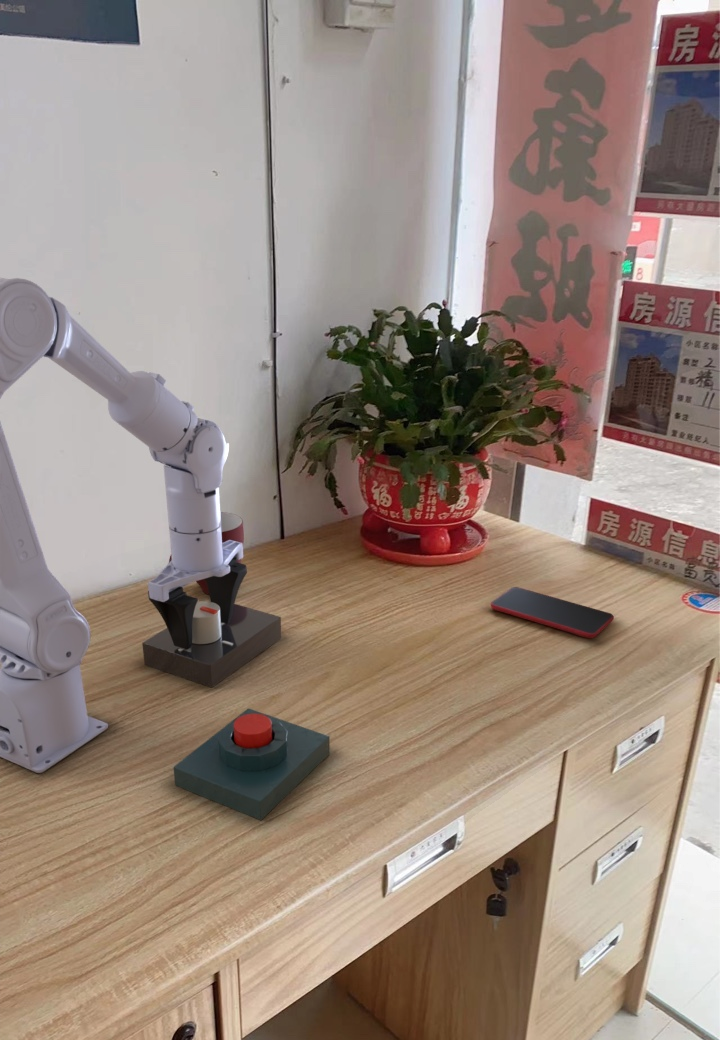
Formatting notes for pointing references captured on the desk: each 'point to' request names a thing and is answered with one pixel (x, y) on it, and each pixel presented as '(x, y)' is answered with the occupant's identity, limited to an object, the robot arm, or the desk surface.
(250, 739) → the button
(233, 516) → the mug
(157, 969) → the desk surface
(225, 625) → the panel
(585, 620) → the smartphone
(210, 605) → the knob
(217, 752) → the switch block
